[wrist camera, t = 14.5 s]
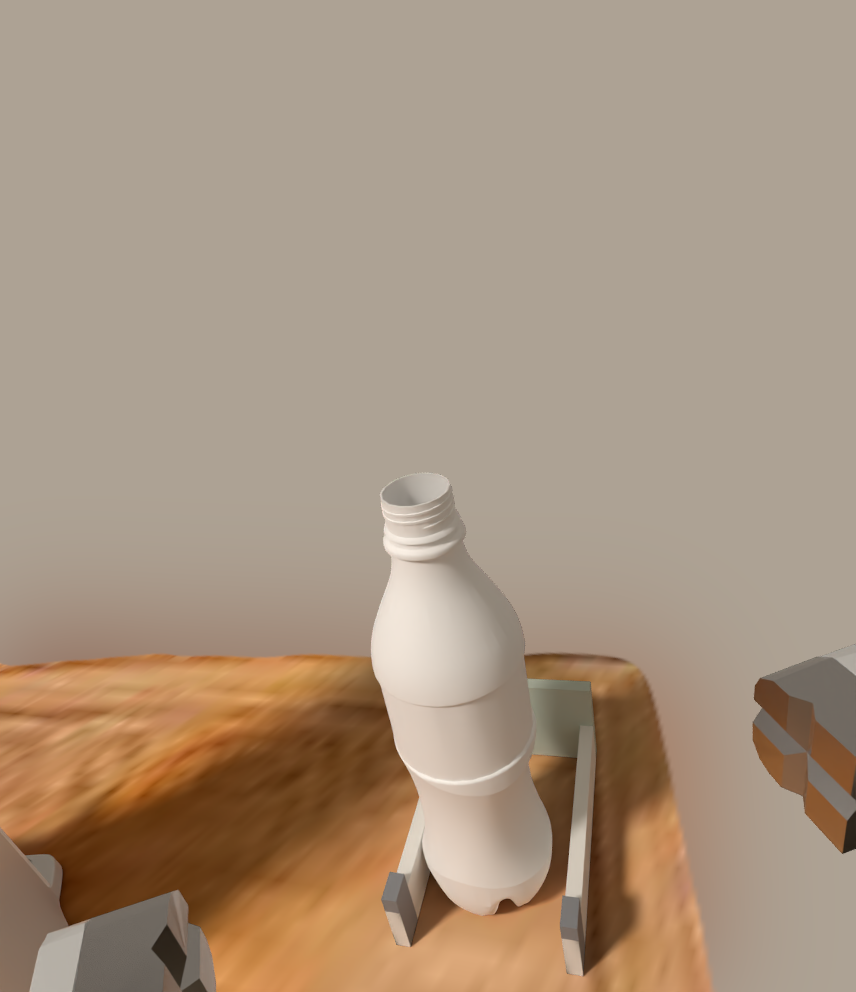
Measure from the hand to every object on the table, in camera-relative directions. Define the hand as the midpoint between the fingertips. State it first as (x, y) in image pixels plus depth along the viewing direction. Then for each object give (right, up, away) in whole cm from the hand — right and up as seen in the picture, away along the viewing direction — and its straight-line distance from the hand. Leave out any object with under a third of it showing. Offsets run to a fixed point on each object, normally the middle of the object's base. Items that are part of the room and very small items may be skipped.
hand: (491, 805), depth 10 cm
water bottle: (+3, -17, +31) cm, 36 cm away
